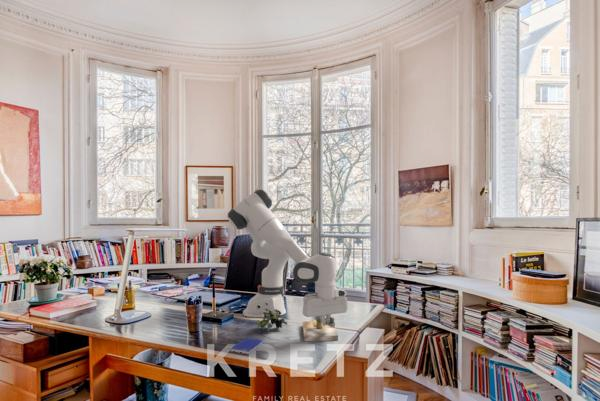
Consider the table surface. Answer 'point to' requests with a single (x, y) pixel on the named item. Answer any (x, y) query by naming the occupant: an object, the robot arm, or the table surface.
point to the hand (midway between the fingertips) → (325, 325)
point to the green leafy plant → (272, 319)
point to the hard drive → (246, 345)
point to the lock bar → (330, 322)
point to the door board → (319, 332)
